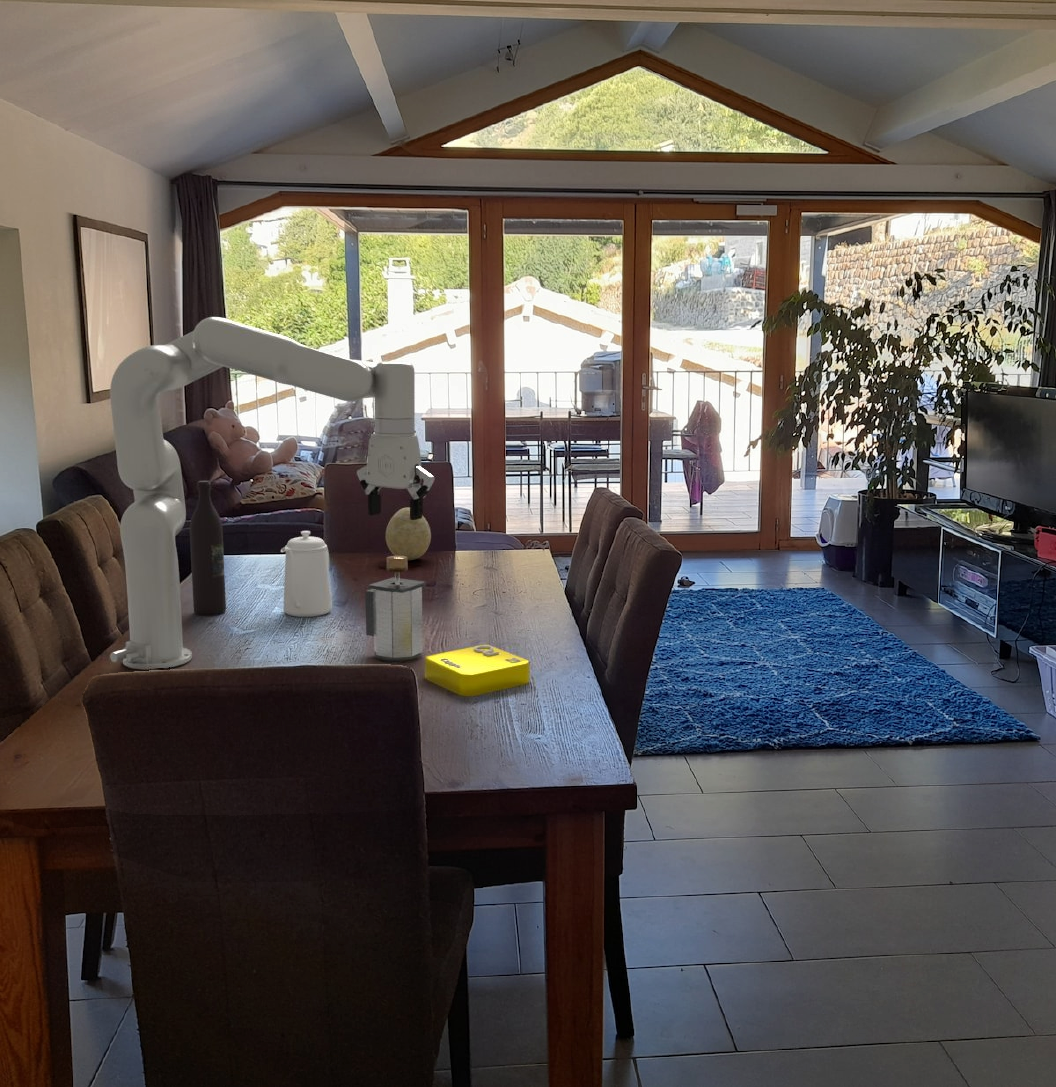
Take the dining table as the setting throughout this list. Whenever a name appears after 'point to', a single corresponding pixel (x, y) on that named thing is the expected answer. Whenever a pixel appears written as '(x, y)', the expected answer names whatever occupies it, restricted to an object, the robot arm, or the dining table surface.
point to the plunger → (397, 566)
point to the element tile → (477, 670)
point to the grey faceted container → (395, 619)
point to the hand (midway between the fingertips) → (395, 516)
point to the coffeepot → (306, 577)
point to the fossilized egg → (408, 535)
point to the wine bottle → (207, 556)
